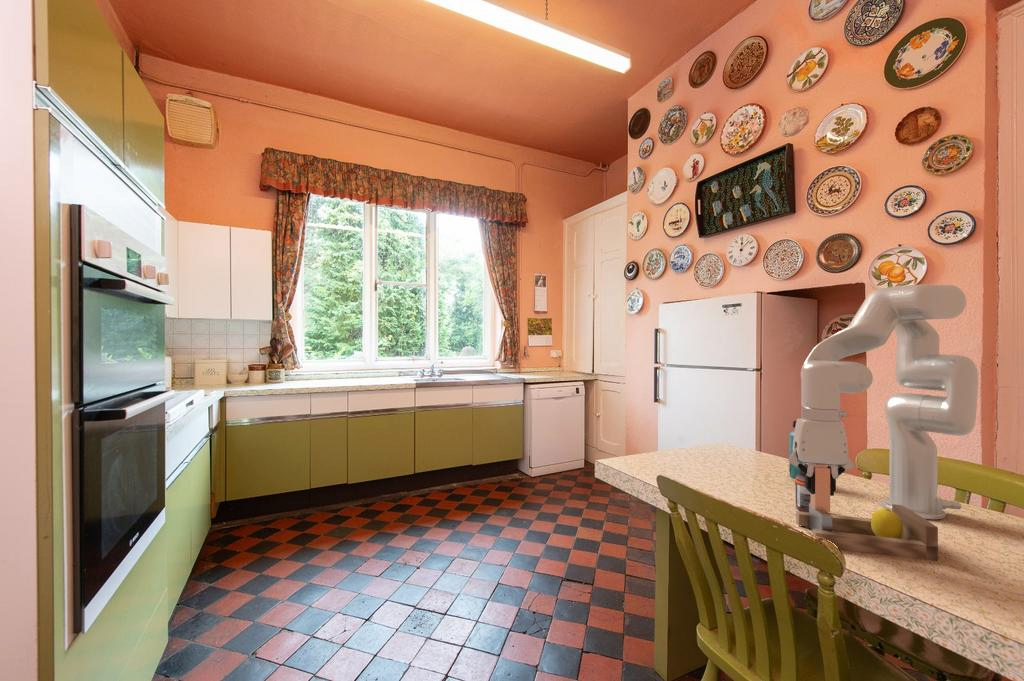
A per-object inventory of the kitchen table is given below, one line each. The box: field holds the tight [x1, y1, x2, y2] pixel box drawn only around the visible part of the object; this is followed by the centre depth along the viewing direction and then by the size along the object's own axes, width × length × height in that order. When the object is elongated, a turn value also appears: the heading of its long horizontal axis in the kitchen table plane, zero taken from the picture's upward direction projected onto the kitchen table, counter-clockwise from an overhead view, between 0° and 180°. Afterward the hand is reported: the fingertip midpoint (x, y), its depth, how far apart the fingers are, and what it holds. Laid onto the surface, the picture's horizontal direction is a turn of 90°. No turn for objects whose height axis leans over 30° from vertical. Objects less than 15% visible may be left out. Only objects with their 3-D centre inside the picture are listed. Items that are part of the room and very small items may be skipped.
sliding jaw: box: [808, 464, 833, 532], centre depth 103 cm, size 3×8×16 cm, turn 163°
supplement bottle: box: [794, 469, 810, 512], centre depth 118 cm, size 6×6×11 cm
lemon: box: [870, 507, 903, 539], centre depth 99 cm, size 6×6×8 cm
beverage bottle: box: [788, 420, 804, 480], centre depth 141 cm, size 6×7×20 cm
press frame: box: [795, 504, 939, 562], centre depth 100 cm, size 22×13×7 cm, turn 73°
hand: (820, 492), depth 103 cm, fingers closed on sliding jaw, 3 cm apart
